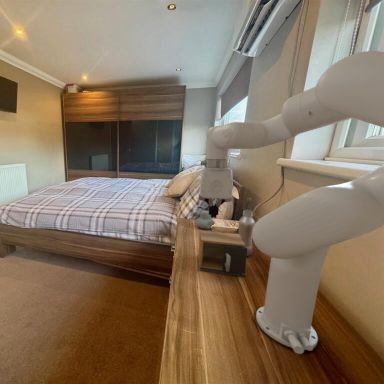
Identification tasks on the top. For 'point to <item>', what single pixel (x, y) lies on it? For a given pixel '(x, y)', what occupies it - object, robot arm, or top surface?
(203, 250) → the cabinet
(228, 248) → the sliding door
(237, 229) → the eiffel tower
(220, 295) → the top surface
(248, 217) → the plastic bottle
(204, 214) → the air freshener
